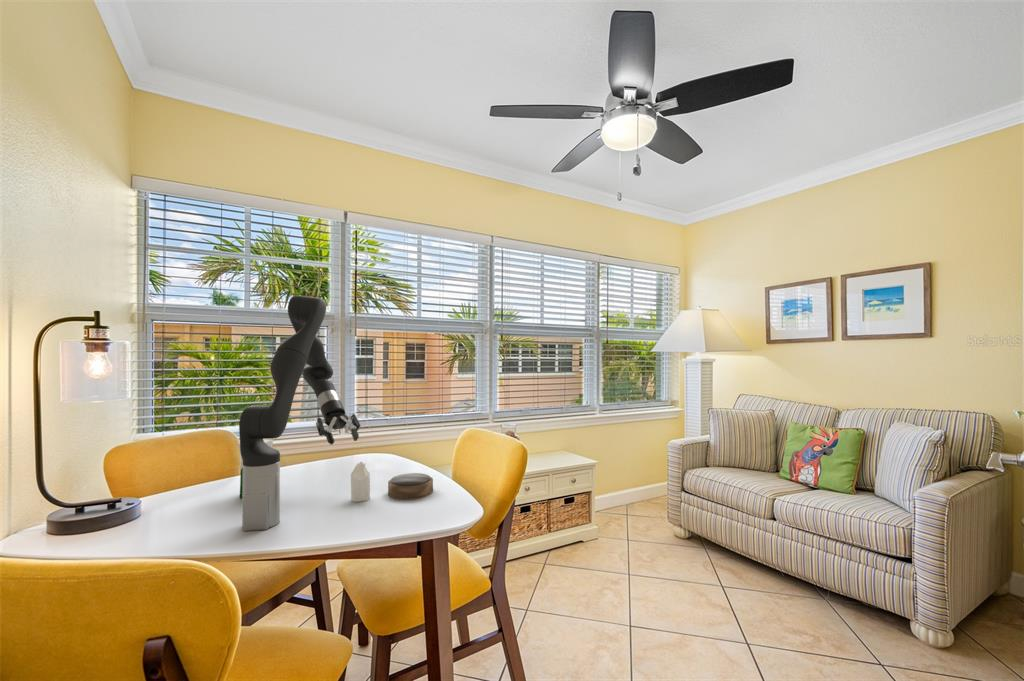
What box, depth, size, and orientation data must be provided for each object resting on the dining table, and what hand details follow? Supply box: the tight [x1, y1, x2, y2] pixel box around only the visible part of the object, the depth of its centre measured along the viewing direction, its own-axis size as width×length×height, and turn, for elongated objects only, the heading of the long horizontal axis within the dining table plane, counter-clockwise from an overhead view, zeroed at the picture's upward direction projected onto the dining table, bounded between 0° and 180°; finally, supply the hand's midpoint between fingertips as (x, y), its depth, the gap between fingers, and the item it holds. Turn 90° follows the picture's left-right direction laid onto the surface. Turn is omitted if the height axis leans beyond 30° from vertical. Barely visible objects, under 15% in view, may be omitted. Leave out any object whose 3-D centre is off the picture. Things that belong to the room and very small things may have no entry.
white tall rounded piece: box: [350, 461, 371, 503], centre depth 150 cm, size 6×12×6 cm
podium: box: [387, 472, 434, 500], centre depth 156 cm, size 15×15×5 cm
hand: (344, 441), depth 159 cm, fingers open, 8 cm apart
